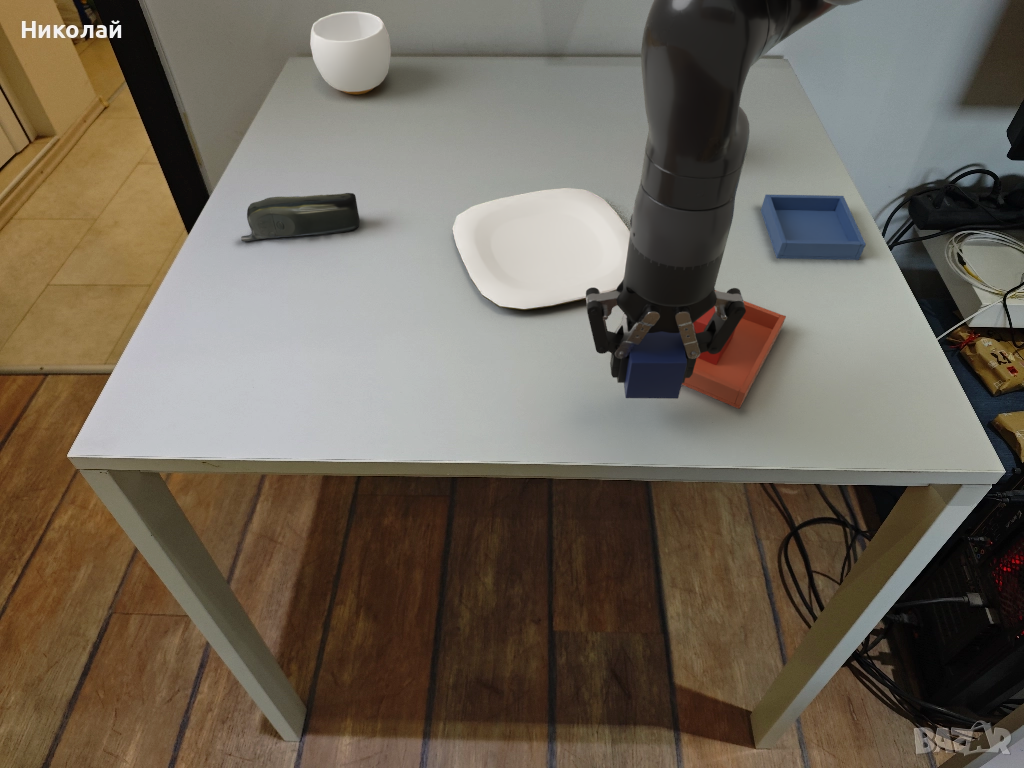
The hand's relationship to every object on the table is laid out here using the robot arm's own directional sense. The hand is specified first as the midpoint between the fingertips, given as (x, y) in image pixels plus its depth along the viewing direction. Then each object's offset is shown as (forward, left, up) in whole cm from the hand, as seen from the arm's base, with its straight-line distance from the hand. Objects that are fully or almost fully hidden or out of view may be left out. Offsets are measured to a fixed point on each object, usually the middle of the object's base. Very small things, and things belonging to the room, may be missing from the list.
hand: (649, 375), depth 70 cm
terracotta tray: (-2, -12, -6) cm, 14 cm away
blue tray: (-6, -38, -6) cm, 39 cm away
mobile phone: (+50, -4, -6) cm, 51 cm away
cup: (+69, -38, -6) cm, 79 cm away
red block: (-2, -12, -5) cm, 14 cm away
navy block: (0, 0, 0) cm, 0 cm away
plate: (+21, -17, -6) cm, 28 cm away
